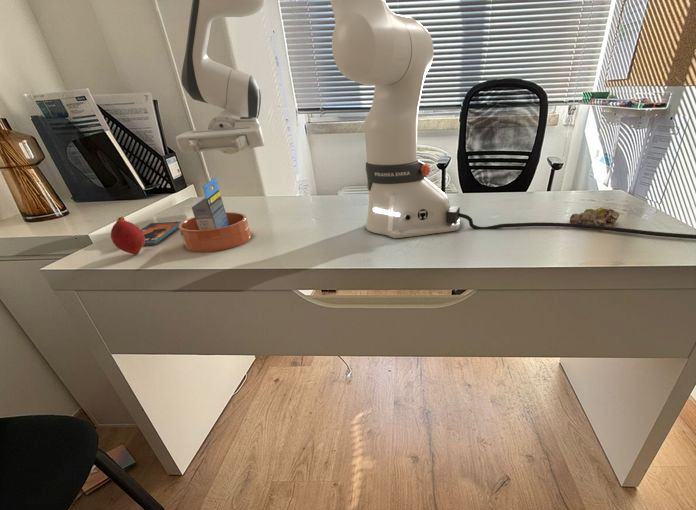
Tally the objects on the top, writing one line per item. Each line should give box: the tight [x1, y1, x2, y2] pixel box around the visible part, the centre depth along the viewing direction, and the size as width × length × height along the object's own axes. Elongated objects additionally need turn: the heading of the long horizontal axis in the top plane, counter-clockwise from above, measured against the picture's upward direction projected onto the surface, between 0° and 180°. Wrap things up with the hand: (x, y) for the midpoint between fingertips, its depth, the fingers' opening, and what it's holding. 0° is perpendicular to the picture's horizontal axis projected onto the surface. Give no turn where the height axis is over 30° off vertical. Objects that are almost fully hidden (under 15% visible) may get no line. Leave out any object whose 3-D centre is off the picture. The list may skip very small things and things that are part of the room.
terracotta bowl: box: [177, 211, 252, 253], centre depth 88 cm, size 14×14×4 cm
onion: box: [110, 215, 145, 256], centre depth 81 cm, size 6×6×8 cm
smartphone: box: [141, 221, 183, 246], centre depth 94 cm, size 8×1×15 cm
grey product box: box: [191, 177, 230, 230], centre depth 85 cm, size 9×4×12 cm, turn 5°
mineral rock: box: [569, 207, 620, 227], centre depth 88 cm, size 11×4×8 cm
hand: (214, 147), depth 90 cm, fingers open, 8 cm apart
